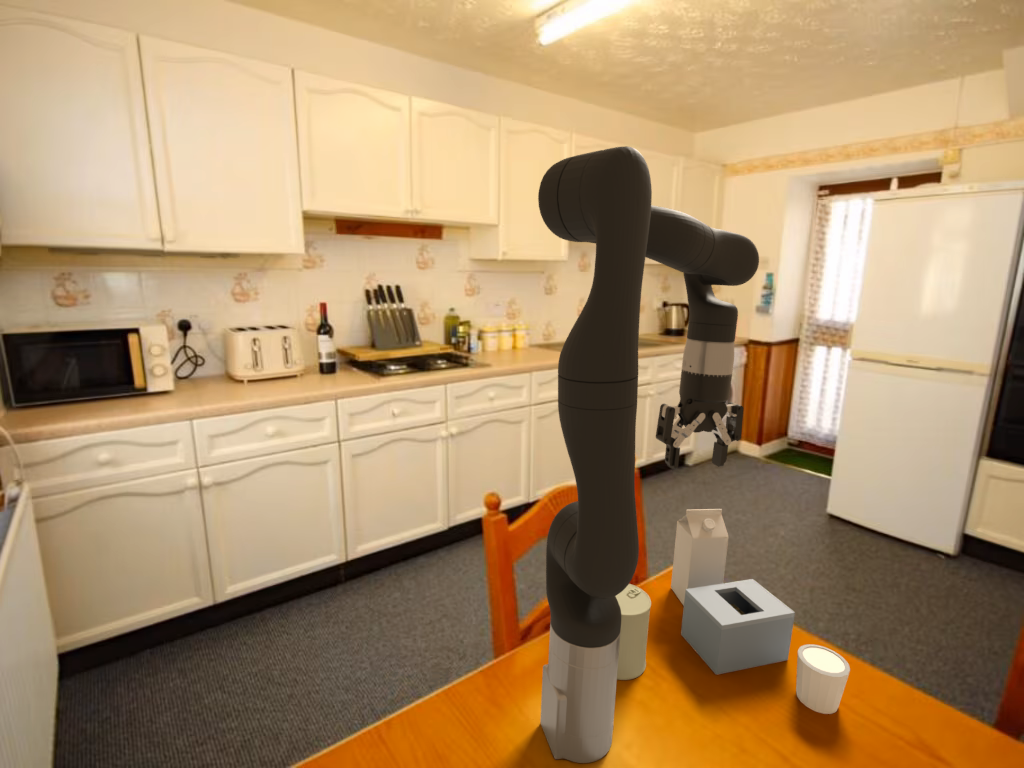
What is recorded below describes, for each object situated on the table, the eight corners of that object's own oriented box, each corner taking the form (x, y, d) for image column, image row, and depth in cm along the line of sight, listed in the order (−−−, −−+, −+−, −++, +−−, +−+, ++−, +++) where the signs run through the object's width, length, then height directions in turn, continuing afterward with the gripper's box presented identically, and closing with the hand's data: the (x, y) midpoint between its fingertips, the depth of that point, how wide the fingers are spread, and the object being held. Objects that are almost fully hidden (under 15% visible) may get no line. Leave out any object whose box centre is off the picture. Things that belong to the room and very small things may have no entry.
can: (657, 665, 87) (664, 600, 84) (617, 689, 81) (623, 620, 79) (616, 633, 94) (621, 573, 91) (578, 653, 89) (582, 589, 86)
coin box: (716, 674, 85) (722, 625, 83) (680, 634, 94) (685, 589, 92) (787, 660, 89) (795, 612, 87) (746, 622, 98) (752, 578, 96)
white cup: (850, 721, 77) (858, 679, 75) (799, 712, 78) (806, 671, 76) (832, 686, 83) (839, 647, 82) (785, 678, 84) (791, 640, 83)
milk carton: (670, 588, 108) (678, 502, 104) (703, 586, 109) (713, 501, 105) (685, 609, 101) (695, 518, 97) (720, 608, 102) (731, 517, 98)
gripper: (680, 373, 77) (669, 477, 81) (761, 372, 81) (747, 472, 84) (654, 364, 84) (644, 460, 88) (729, 364, 88) (718, 456, 91)
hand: (695, 466), depth 86 cm, fingers open, 8 cm apart
